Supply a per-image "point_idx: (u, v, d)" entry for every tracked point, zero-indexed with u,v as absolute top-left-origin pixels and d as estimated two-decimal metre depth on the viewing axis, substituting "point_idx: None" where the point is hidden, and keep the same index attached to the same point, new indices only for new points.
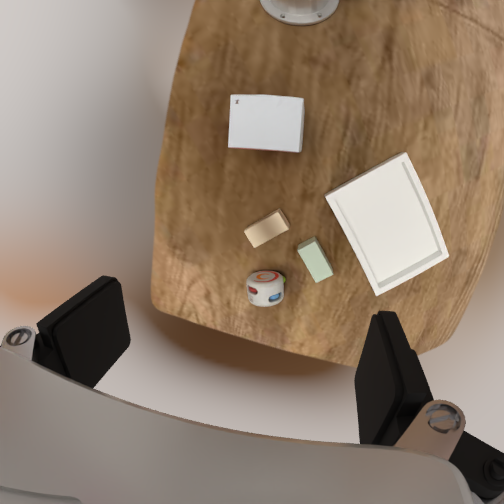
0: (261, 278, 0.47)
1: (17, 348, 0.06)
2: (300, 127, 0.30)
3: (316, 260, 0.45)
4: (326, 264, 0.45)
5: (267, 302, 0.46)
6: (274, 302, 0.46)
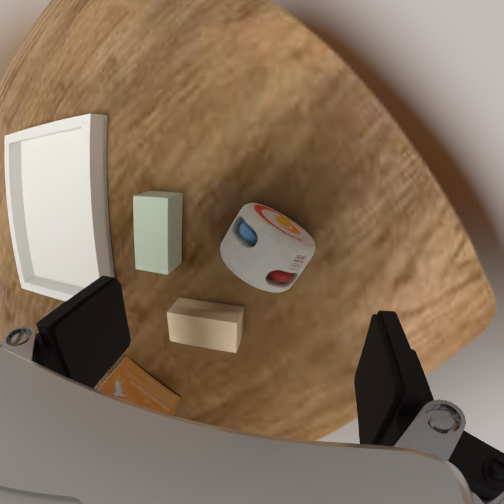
0: None
1: (17, 348, 0.06)
2: None
3: (146, 238, 0.22)
4: (135, 220, 0.22)
5: (261, 240, 0.18)
6: (251, 225, 0.18)
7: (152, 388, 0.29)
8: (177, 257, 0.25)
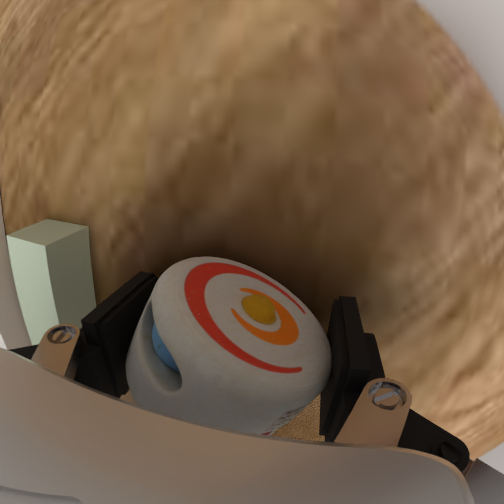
0: None
1: (57, 347, 0.06)
2: None
3: (32, 307, 0.11)
4: (15, 276, 0.10)
5: (191, 387, 0.06)
6: (166, 341, 0.06)
7: None
8: None
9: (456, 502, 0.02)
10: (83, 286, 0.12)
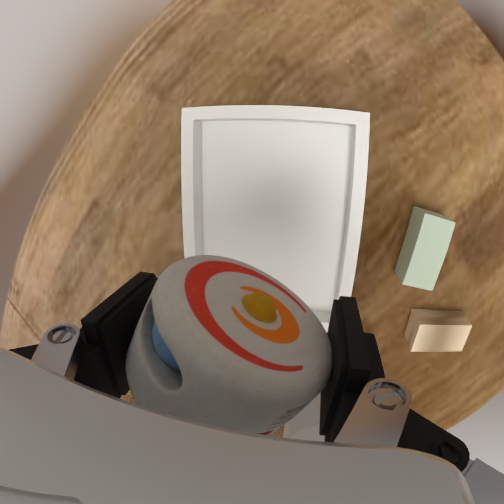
0: None
1: (57, 347, 0.06)
2: None
3: (425, 256, 0.21)
4: (419, 237, 0.21)
5: (192, 385, 0.06)
6: (166, 339, 0.06)
7: None
8: None
9: (456, 502, 0.02)
10: None
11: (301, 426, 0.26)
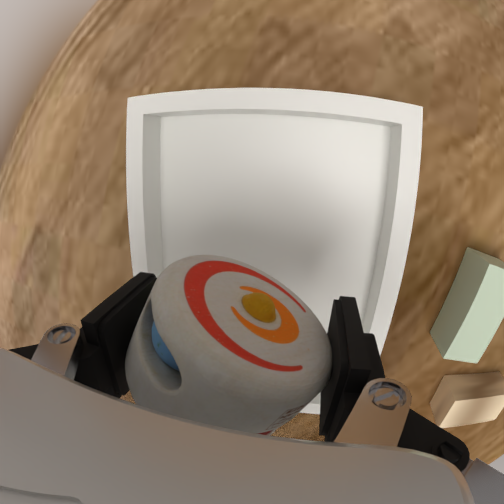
0: None
1: (57, 347, 0.06)
2: None
3: (479, 321, 0.13)
4: (477, 297, 0.12)
5: (191, 385, 0.06)
6: (165, 339, 0.06)
7: None
8: None
9: (456, 502, 0.02)
10: None
11: None
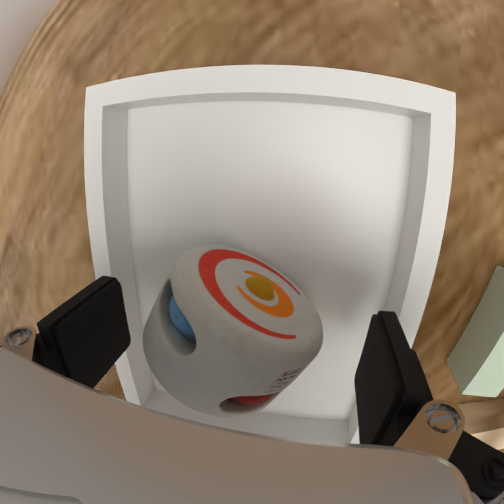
0: None
1: (17, 348, 0.06)
2: None
3: None
4: None
5: (204, 348, 0.08)
6: (183, 310, 0.08)
7: None
8: None
9: (456, 502, 0.02)
10: None
11: None
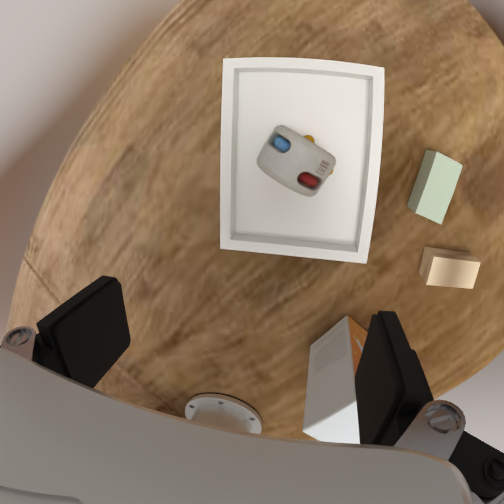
0: None
1: (17, 348, 0.06)
2: (330, 416, 0.21)
3: (436, 189, 0.23)
4: (432, 172, 0.22)
5: (294, 146, 0.21)
6: (285, 135, 0.21)
7: None
8: None
9: (456, 502, 0.02)
10: None
11: (326, 362, 0.28)
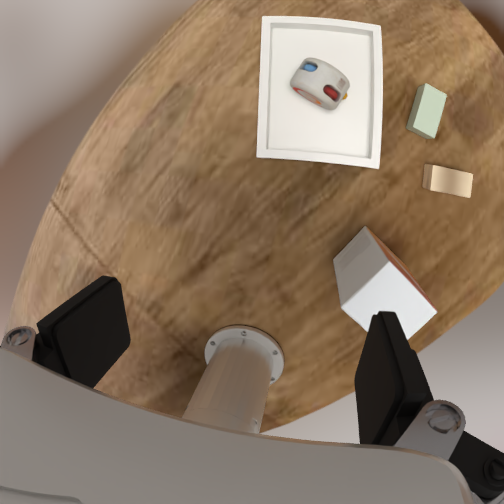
0: (313, 98, 0.28)
1: (17, 348, 0.06)
2: (367, 283, 0.25)
3: (427, 110, 0.27)
4: (423, 97, 0.27)
5: (320, 66, 0.25)
6: (312, 61, 0.26)
7: (391, 252, 0.35)
8: None
9: (456, 502, 0.02)
10: None
11: (353, 257, 0.32)
